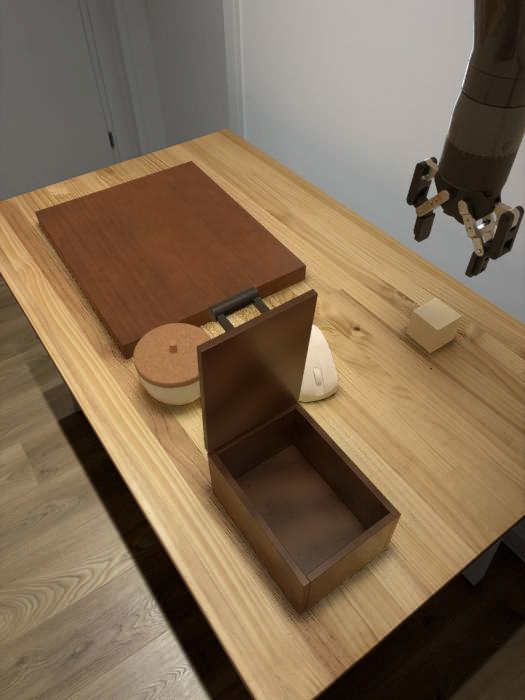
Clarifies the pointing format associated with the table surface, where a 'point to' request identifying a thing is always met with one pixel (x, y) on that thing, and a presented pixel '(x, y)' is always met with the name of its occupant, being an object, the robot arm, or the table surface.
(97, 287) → the brown flat wooden slab
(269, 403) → the lid
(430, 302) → the block
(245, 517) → the chest
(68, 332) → the table surface
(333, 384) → the computer mouse
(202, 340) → the trinket box
